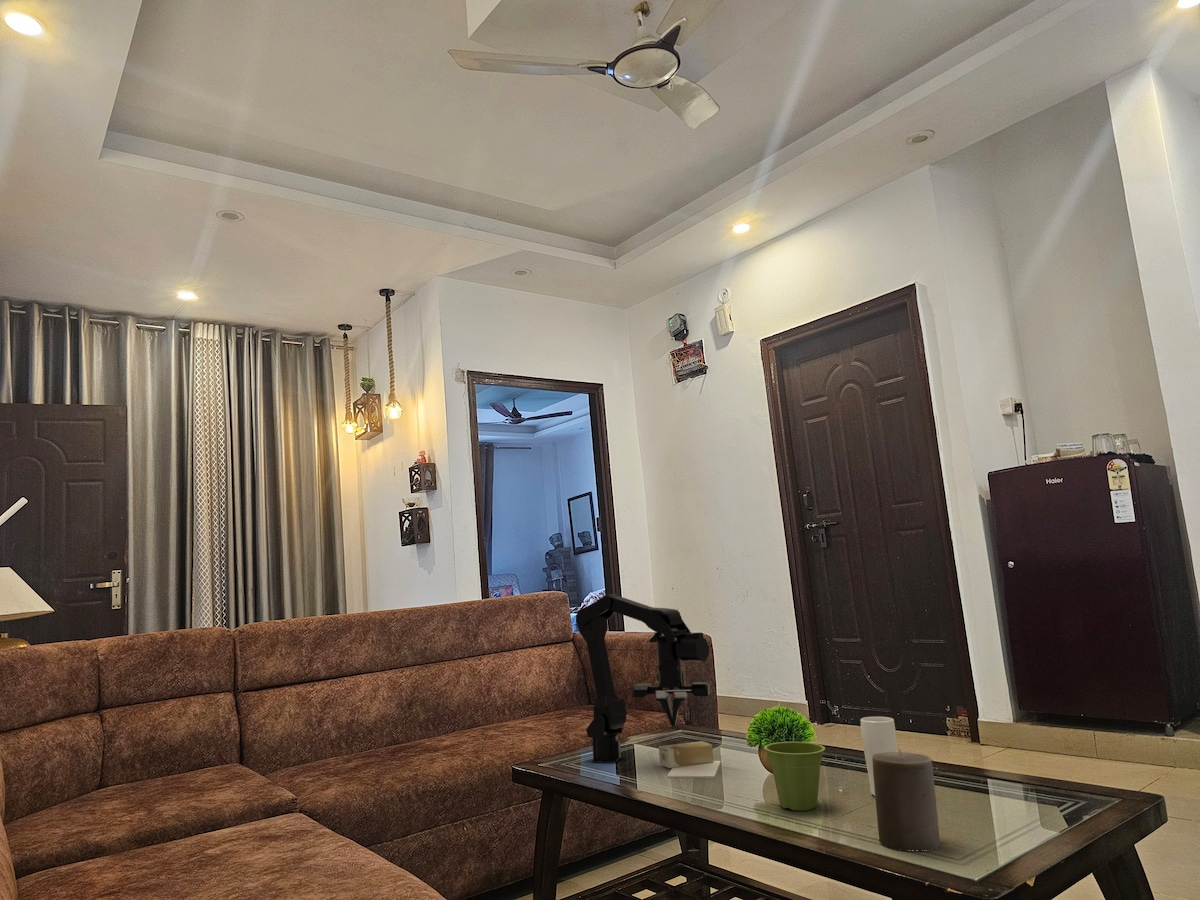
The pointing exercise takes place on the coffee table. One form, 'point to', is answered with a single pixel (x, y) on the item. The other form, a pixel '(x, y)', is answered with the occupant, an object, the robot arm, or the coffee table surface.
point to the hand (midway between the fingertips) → (673, 726)
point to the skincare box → (685, 754)
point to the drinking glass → (877, 740)
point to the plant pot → (796, 773)
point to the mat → (696, 770)
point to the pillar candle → (905, 801)
